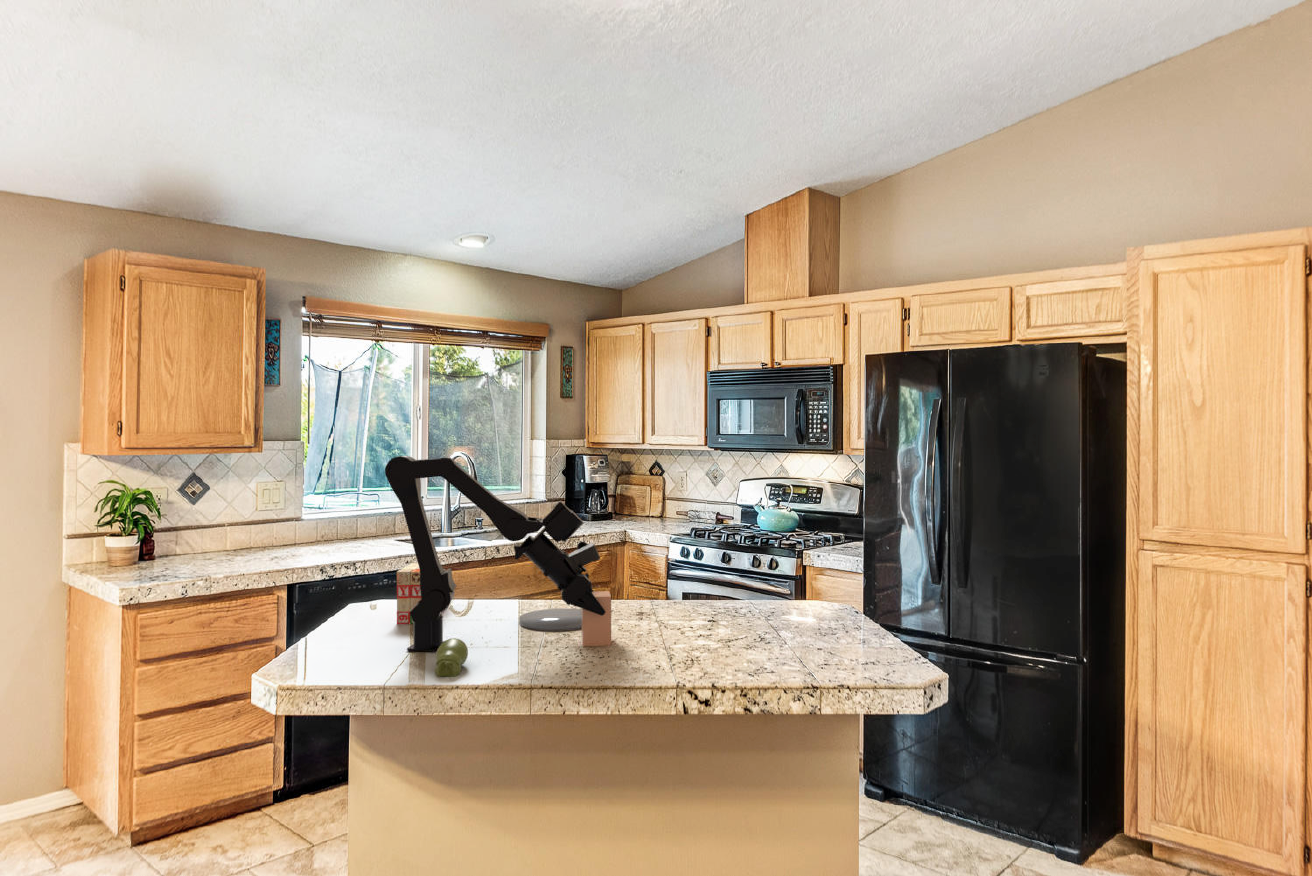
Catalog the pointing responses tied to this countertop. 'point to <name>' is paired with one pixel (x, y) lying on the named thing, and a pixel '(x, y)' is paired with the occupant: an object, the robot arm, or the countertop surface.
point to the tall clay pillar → (597, 622)
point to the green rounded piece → (450, 657)
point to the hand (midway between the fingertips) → (602, 610)
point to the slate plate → (552, 620)
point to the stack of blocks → (407, 592)
